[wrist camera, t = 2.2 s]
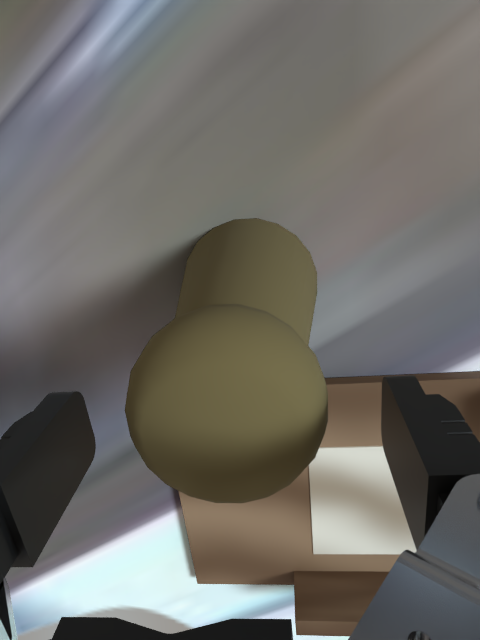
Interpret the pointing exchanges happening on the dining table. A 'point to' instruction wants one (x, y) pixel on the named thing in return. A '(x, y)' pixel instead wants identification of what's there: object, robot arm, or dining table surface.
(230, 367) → the olive double-lobed piece
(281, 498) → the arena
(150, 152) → the dining table surface
